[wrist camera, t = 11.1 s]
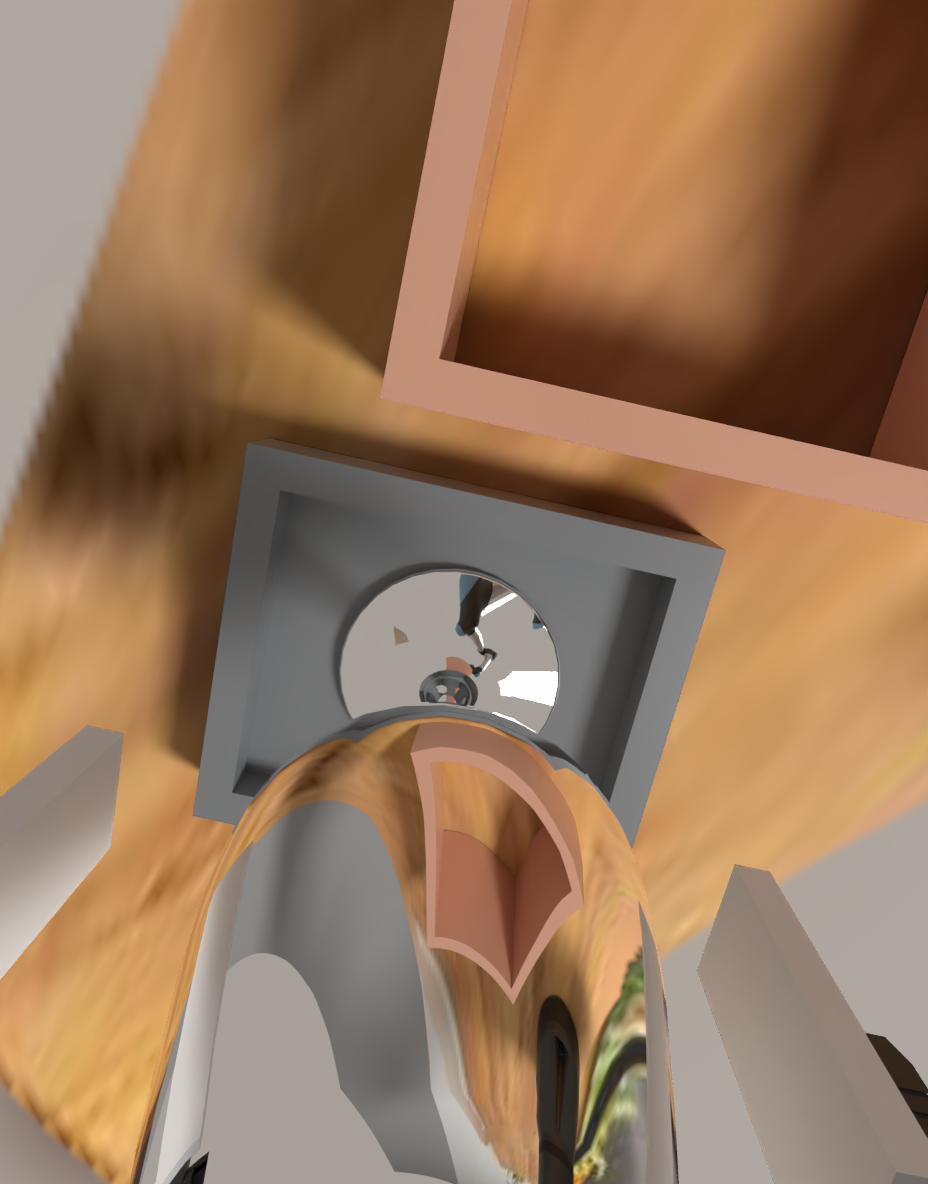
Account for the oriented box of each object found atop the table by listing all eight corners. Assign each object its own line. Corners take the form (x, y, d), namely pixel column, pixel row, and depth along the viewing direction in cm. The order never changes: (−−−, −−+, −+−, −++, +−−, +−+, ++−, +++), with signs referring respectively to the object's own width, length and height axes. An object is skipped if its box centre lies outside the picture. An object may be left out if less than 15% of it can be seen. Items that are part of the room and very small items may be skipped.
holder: (1095, -61, 21) (1375, -272, 15) (888, 507, 26) (1033, 547, 19) (526, -202, 21) (544, -485, 14) (408, 397, 25) (379, 398, 18)
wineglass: (551, 784, 27) (744, 1719, 8) (333, 769, 27) (-7, 1675, 8) (574, 571, 25) (901, 1121, 6) (339, 555, 25) (-87, 1056, 6)
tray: (703, 536, 26) (725, 550, 24) (603, 863, 29) (614, 905, 27) (269, 438, 26) (247, 442, 23) (217, 780, 29) (192, 815, 26)
